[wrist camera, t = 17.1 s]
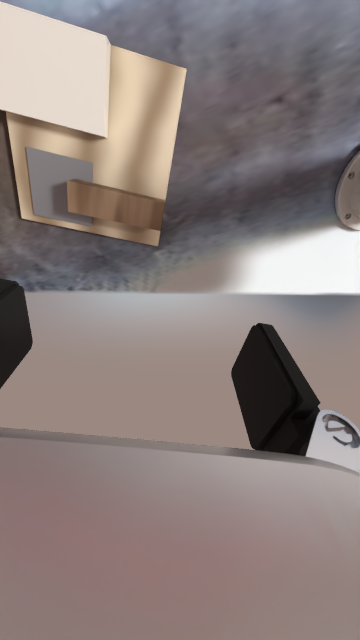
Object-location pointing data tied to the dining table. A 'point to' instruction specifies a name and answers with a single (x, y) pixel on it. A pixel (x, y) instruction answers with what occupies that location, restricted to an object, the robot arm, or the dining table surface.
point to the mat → (56, 184)
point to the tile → (53, 71)
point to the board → (113, 140)
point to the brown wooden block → (114, 204)
